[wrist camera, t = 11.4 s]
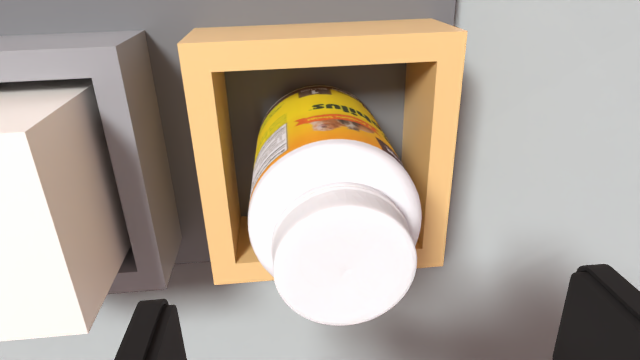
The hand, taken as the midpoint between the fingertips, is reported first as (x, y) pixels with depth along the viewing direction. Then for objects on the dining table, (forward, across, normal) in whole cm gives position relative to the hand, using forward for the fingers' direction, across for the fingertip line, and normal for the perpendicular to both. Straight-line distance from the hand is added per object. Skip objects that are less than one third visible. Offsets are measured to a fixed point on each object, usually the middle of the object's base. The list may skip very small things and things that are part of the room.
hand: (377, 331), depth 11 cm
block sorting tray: (+13, +6, -1) cm, 15 cm away
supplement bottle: (+12, 0, -1) cm, 12 cm away
